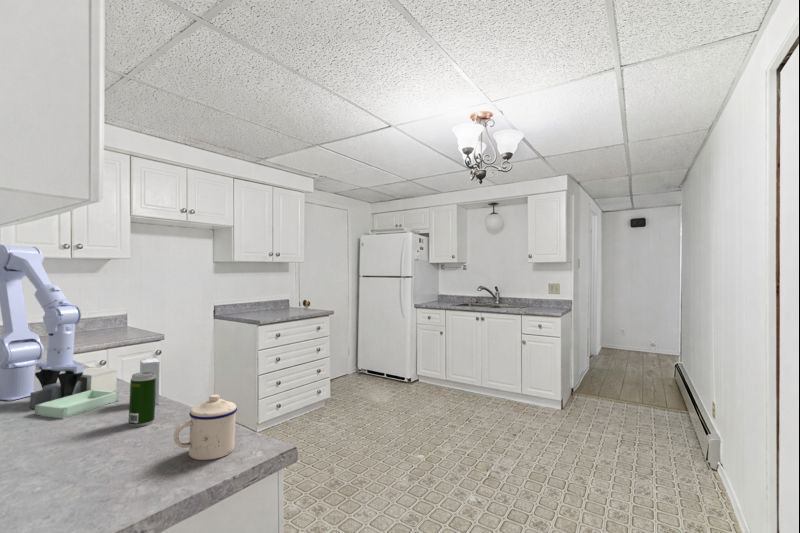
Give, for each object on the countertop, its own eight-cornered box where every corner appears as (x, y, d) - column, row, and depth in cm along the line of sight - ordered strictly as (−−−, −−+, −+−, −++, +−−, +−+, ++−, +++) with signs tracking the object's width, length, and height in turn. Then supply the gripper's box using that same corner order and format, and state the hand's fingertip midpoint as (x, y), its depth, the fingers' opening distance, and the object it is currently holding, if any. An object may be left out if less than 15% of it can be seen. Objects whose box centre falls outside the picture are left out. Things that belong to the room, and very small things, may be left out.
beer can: (146, 427, 94) (148, 377, 95) (123, 427, 94) (125, 376, 94) (158, 419, 100) (161, 371, 100) (137, 419, 99) (139, 371, 100)
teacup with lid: (224, 439, 89) (227, 387, 89) (242, 452, 83) (245, 396, 83) (165, 455, 80) (168, 397, 81) (180, 471, 74) (183, 408, 74)
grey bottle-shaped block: (25, 408, 105) (26, 390, 105) (68, 397, 116) (69, 379, 116) (38, 410, 104) (39, 391, 104) (80, 398, 115) (81, 381, 115)
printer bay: (64, 394, 117) (65, 372, 117) (91, 387, 125) (92, 367, 125) (90, 397, 115) (91, 375, 115) (116, 390, 123) (117, 369, 123)
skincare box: (159, 404, 111) (161, 361, 111) (140, 407, 108) (142, 363, 109) (156, 399, 116) (158, 357, 116) (137, 401, 113) (139, 359, 113)
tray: (34, 415, 100) (35, 405, 100) (92, 398, 115) (92, 389, 115) (63, 418, 98) (63, 408, 98) (118, 400, 113) (118, 392, 113)
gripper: (24, 349, 109) (21, 398, 108) (66, 352, 106) (63, 403, 105) (52, 345, 116) (49, 391, 115) (91, 348, 113) (89, 396, 112)
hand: (58, 396), depth 111 cm, fingers open, 6 cm apart
